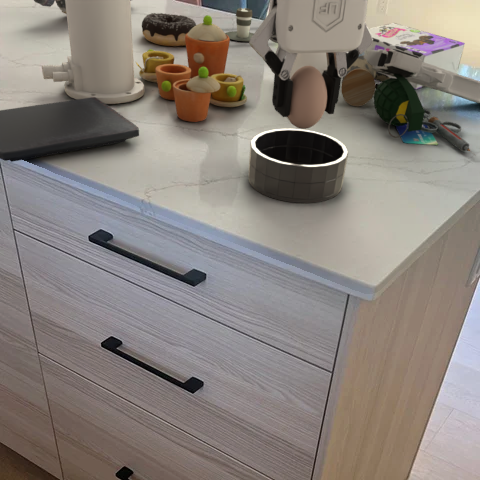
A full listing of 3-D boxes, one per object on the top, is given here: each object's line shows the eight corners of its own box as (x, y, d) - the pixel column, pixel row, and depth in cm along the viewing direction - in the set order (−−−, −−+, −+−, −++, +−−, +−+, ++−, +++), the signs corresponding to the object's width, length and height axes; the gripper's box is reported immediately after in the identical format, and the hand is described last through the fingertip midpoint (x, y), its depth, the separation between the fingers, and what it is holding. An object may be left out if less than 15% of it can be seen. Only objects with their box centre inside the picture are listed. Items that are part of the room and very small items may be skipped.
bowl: (269, 207, 76) (272, 170, 73) (235, 166, 84) (237, 131, 81) (358, 197, 80) (365, 162, 77) (317, 159, 88) (322, 125, 84)
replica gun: (355, 43, 104) (349, 65, 106) (392, 46, 91) (384, 70, 93) (501, 91, 112) (493, 110, 114) (554, 99, 99) (545, 121, 101)
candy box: (425, 54, 109) (350, 31, 117) (416, 91, 113) (344, 66, 121) (466, 41, 116) (393, 20, 124) (456, 76, 120) (386, 54, 128)
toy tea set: (131, 72, 110) (128, 7, 103) (216, 69, 114) (218, 6, 107) (172, 128, 93) (171, 54, 86) (269, 121, 97) (276, 51, 90)
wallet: (144, 143, 88) (95, 108, 96) (143, 129, 86) (93, 95, 95) (2, 171, 79) (-38, 130, 87) (-1, 155, 77) (-41, 115, 86)
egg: (299, 117, 80) (307, 57, 75) (331, 129, 77) (340, 68, 73) (272, 125, 77) (278, 63, 72) (303, 138, 75) (312, 75, 70)
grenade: (362, 113, 103) (394, 144, 95) (368, 68, 98) (401, 98, 90) (397, 108, 104) (431, 139, 96) (404, 64, 99) (441, 93, 91)
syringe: (451, 161, 90) (455, 149, 89) (393, 114, 102) (396, 102, 101) (495, 161, 93) (500, 149, 91) (433, 114, 104) (437, 104, 103)
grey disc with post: (227, 46, 126) (229, 17, 122) (205, 30, 133) (206, 2, 130) (281, 43, 130) (284, 15, 126) (257, 28, 137) (259, 1, 134)
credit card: (393, 122, 100) (393, 122, 100) (426, 124, 101) (426, 124, 100) (403, 143, 94) (403, 142, 94) (438, 145, 95) (438, 144, 94)
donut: (156, 50, 121) (156, 26, 118) (132, 34, 128) (130, 11, 125) (207, 45, 125) (208, 22, 122) (181, 30, 132) (181, 8, 129)
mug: (347, 63, 101) (352, 47, 109) (334, 99, 104) (340, 80, 113) (394, 80, 101) (395, 63, 110) (379, 115, 105) (381, 96, 113)
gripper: (262, -77, 58) (248, 127, 71) (420, -73, 63) (380, 118, 76) (235, -89, 63) (226, 105, 76) (383, -83, 68) (352, 97, 81)
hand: (304, 110), depth 76 cm, fingers closed on egg, 5 cm apart
